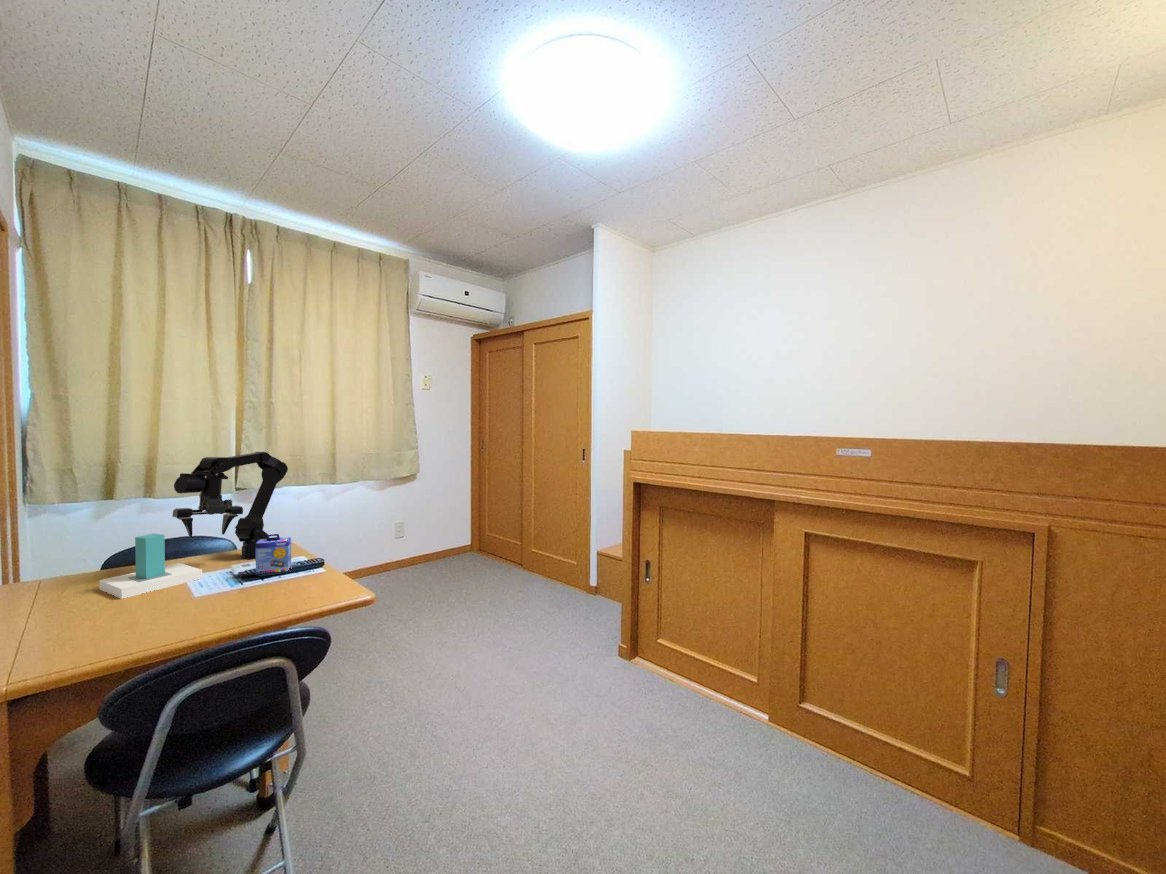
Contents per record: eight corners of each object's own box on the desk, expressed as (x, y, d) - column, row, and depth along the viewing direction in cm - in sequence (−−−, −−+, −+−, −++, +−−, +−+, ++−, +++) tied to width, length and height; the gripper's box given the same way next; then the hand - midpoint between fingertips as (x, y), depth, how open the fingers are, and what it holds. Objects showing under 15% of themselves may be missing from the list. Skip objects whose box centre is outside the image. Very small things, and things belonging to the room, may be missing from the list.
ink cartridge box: (254, 578, 152) (254, 536, 151) (258, 573, 157) (258, 532, 157) (289, 574, 156) (288, 533, 156) (291, 569, 161) (291, 530, 161)
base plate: (179, 571, 158) (179, 562, 158) (202, 578, 151) (202, 569, 151) (99, 589, 140) (99, 579, 140) (121, 598, 133) (121, 588, 133)
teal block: (154, 572, 147) (154, 533, 147) (165, 574, 146) (164, 534, 145) (135, 577, 142) (135, 537, 142) (146, 579, 141) (145, 538, 141)
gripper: (184, 494, 147) (180, 541, 146) (250, 492, 163) (247, 535, 162) (174, 492, 154) (169, 537, 153) (238, 490, 169) (235, 532, 168)
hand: (207, 535), depth 159 cm, fingers open, 9 cm apart
